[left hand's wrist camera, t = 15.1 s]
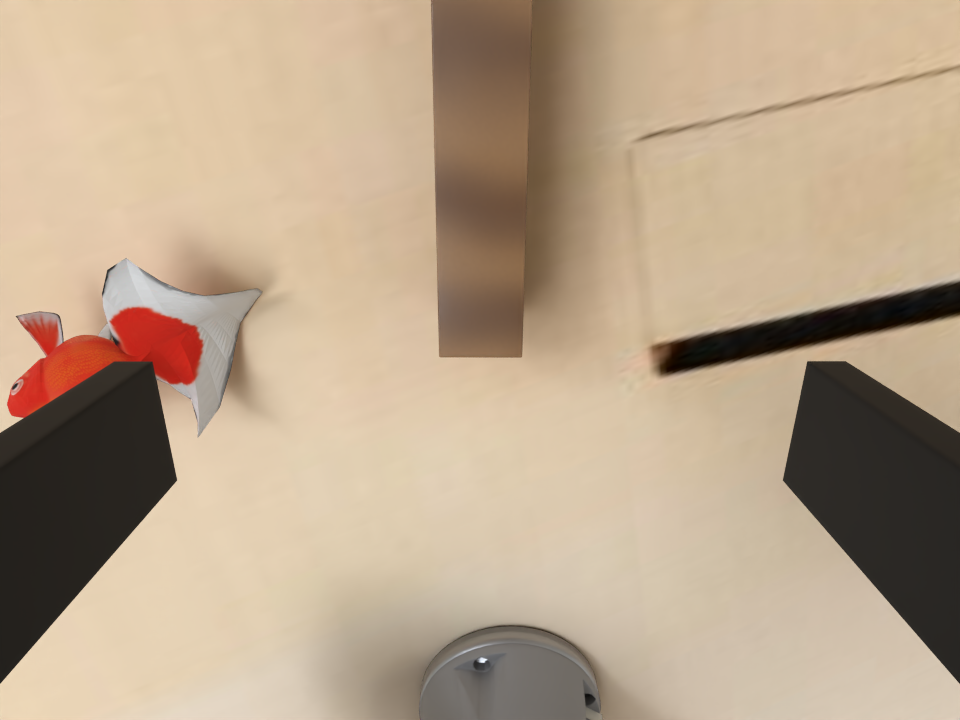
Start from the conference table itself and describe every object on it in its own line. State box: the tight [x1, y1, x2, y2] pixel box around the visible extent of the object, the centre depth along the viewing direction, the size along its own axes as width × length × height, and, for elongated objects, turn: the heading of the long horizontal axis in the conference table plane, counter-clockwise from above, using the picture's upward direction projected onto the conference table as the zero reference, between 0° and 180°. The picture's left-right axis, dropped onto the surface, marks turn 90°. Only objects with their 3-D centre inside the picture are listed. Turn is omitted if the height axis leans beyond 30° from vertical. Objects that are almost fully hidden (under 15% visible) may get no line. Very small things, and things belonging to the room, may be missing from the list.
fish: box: [7, 258, 262, 437], centre depth 37 cm, size 11×16×10 cm
